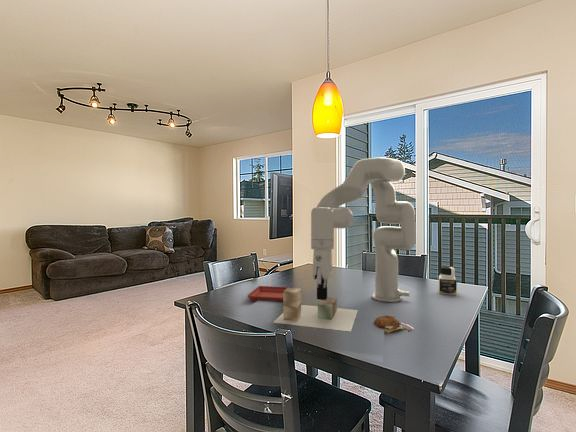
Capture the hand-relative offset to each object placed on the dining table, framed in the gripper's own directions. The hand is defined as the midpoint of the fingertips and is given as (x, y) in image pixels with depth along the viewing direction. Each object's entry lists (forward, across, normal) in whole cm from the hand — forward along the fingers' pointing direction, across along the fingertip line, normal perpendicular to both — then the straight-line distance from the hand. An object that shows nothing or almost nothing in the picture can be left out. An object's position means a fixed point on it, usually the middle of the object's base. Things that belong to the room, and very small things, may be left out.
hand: (322, 298), depth 109 cm
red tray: (+10, +28, +28) cm, 41 cm away
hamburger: (+10, +6, -23) cm, 26 cm away
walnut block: (+6, +4, 0) cm, 7 cm away
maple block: (+8, +2, +11) cm, 14 cm away
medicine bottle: (+9, +61, -47) cm, 77 cm away
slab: (+10, +7, +3) cm, 12 cm away
